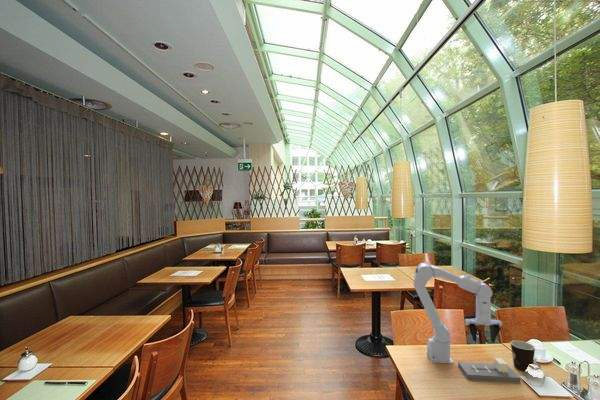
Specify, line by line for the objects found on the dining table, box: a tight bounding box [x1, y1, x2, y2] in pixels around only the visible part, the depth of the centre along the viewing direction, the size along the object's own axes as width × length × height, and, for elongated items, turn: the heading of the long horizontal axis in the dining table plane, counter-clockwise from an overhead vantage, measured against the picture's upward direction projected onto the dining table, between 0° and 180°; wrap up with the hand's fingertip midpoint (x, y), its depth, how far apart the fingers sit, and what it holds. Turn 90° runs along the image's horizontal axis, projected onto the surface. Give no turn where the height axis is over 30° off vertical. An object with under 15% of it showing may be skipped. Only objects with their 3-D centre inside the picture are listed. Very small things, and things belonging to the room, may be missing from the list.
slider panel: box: [457, 361, 522, 384], centre depth 128 cm, size 20×10×2 cm, turn 83°
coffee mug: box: [510, 340, 536, 373], centre depth 133 cm, size 12×9×10 cm
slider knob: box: [493, 357, 508, 373], centre depth 127 cm, size 3×4×4 cm
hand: (483, 341), depth 136 cm, fingers open, 7 cm apart
